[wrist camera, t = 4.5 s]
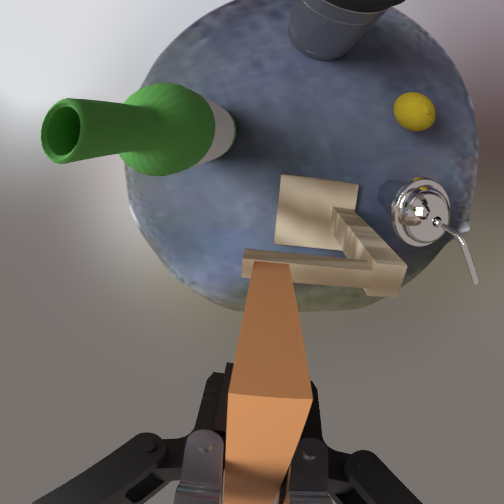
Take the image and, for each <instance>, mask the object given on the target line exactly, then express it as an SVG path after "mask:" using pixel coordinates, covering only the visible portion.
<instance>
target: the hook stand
mask: <svg viewBox="0 0 504 504" xmlns="http://www.w3.org/2000/svg"><path fill="white" fill-rule="evenodd" d="M358 188H359V185H358V184H354V183H348V182H341V181H335V180H328V179H320V178H313V177H305V176H296V175H287V174H281V180H280V190H279V200H278V210H277V219H276V228H275V238H274V244H282V245H292V246H302V247H312V248H322V249H332V250H341V251H343V252H344V254H345V255H346V257H347V259H346V258H336V257H326V256H316V255H306V254H296V253H285V252H275V251H265V250H255V249H245V251H244V255H243V259H242V274H241V277H244V278H251V274H252V268H253V263H254V261H262V262H273V263H283V264H289V267H290V272H291V277H292V282H296V283H307V284H319V285H331V286H344V287H357V288H363V289H364V291H365V292H366V294H367V296H382V297H398V294H399V291H400V288H401V285H402V282H403V279H404V276H405V273H406V269H407V265H406V264H405V263H404V262H403V261H402V260H401V258H400V257H399V256H398V255H397V254H396V253H395V252H394V251H393V250H392V249H391V248H390V247H389V246H388V245H387V243H386V242H385V241H384V240H383V239H382V238H381V237H380V236H379V235H378V234H377V233H376V232H375V231H374V230H373V229H372V228H371V227H370V226H369V225H368V224H367V223H366V222H365V221H364V220H363V219H362V218H361V217H360V216H359V215H358V214H357V213H356V212H355V206H356V200H357V194H358Z"/></svg>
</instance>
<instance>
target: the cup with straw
mask: <svg viewBox="0 0 504 504" xmlns="http://www.w3.org/2000/svg"><path fill="white" fill-rule="evenodd" d="M378 199H379V202H380V204H381V205H382V206H383V207H384V209H385V210H386V211H387V212H388V213H389V214H390V216H391V218H392V224H393V228H394V230H395V232H396V234H397V235H398V237H399V238H400V239H401V240H402V241H404V242H405V243H407V244H409V245H412V246H417V247H418V246H426V245H429V244H431V243H433V242H435V241H437V240H439V239H440V238H441V237H442V236H443V235H444V234H445V233H446V232H447V233H448V234H450V235H451V236H452V237H454V238H455V239H456V240H457V241H458V242H459V244H460V246H461V248H462V251H463V254H464V256H465V259H466V262H467V265H468V267H469V271H470V274H471V277H472V280H473V284H477V283H478V282H479V279H478V276H477V273H476V270H475V266H474V263H473V260H472V257H471V254H470V252H469V249H468V246H467V243H466V241H465V239H464V238H463V236H462V235H461V234H460V233H459V232H457V231H456V230H454V229H453V228H451V227H449V224H450V220H451V211H450V203H449V199H448V196H447V194H446V192H445V190H444V189H443V188H442V187H441V186H440V185H439V184H438V183H437V182H436V181H434V180H432V179H430V178H426V177H419V178H415V179H412V180H410V181H408V182H402V181H394V180H389V181H386V182H385V183H383V184H382V185H381V187H380V189H379V192H378Z"/></svg>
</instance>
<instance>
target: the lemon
mask: <svg viewBox="0 0 504 504" xmlns="http://www.w3.org/2000/svg"><path fill="white" fill-rule="evenodd" d="M394 115H395V118H396V120H397V121H398V123H399V124H400V125H401V126H403V127H404V128H406V129H408V130H411V131H423V130H426V129H428V128H429V127H430V126H431V125H432V124H433V123H434V121H435V117H436V111H435V107H434V105H433V103H432V102H431V101H430V99H429V98H427V97H426V96H424V95H423V94H420V93H416V92H408V93H405V94H402V95H401V96H400V97H398V98H397V100H396V101H395V104H394Z"/></svg>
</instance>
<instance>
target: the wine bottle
mask: <svg viewBox="0 0 504 504" xmlns="http://www.w3.org/2000/svg"><path fill="white" fill-rule="evenodd" d="M236 131H237V129H236V124H235V121H234V119H233V117H232V116H231V115H230V113H229V112H228V111H227V110H225V109H224V108H222V107H220V106H219V105H217V104H215V103H213V102H212V101H210V100H208V99H206V98H204V97H203V96H201V95H199V94H197V93H195V92H193V91H192V90H189V89H187V88H185V87H183V86H181V85H177V84H172V83H158V84H152V85H149V86H146V87H144V88H141V89H139V90H138V91H137V92H135V93H134V94H132V95H131V96H130V97H129V98H128V99H127V100H126V101H125V103H124V104H121V103H114V102H106V101H96V100H85V99H72V98H67V99H63V100H61V101H59V102H57V103H56V104H54V106H52V107H51V109H50V110H49V111H48V113H47V115H46V116H45V119H44V121H43V124H42V129H41V142H42V147H43V149H44V152H45V154H46V155H47V157H48V158H49V159H50V160H52V161H53V162H55V163H59V164H65V163H70V162H74V161H79V160H84V159H90V158H94V157H100V156H106V155H112V154H118V153H119V155H120V157H121V158H122V159H123V160H124V162H125V163H126V164H127V165H128V166H130V167H131V168H133V169H134V170H136V171H137V172H140V173H143V174H147V175H150V176H166V175H170V174H174V173H177V172H180V171H183V170H186V169H189V168H191V167H194V166H197V165H200V164H202V163H205V162H208V161H211V160H214V159H216V158H218V157H220V156H222V155H224V154H225V153H226V152H227V151H229V150H230V148H231V147H232V145H233V144H234V141H235V138H236Z"/></svg>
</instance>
